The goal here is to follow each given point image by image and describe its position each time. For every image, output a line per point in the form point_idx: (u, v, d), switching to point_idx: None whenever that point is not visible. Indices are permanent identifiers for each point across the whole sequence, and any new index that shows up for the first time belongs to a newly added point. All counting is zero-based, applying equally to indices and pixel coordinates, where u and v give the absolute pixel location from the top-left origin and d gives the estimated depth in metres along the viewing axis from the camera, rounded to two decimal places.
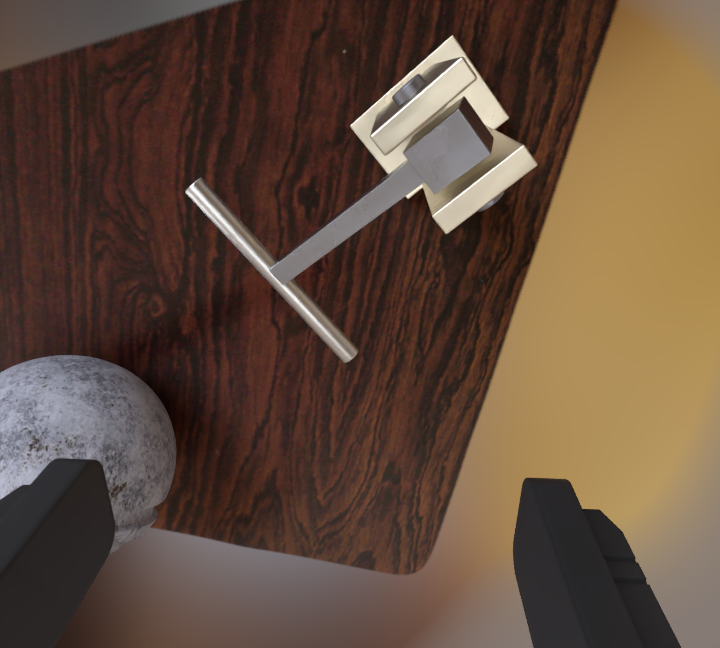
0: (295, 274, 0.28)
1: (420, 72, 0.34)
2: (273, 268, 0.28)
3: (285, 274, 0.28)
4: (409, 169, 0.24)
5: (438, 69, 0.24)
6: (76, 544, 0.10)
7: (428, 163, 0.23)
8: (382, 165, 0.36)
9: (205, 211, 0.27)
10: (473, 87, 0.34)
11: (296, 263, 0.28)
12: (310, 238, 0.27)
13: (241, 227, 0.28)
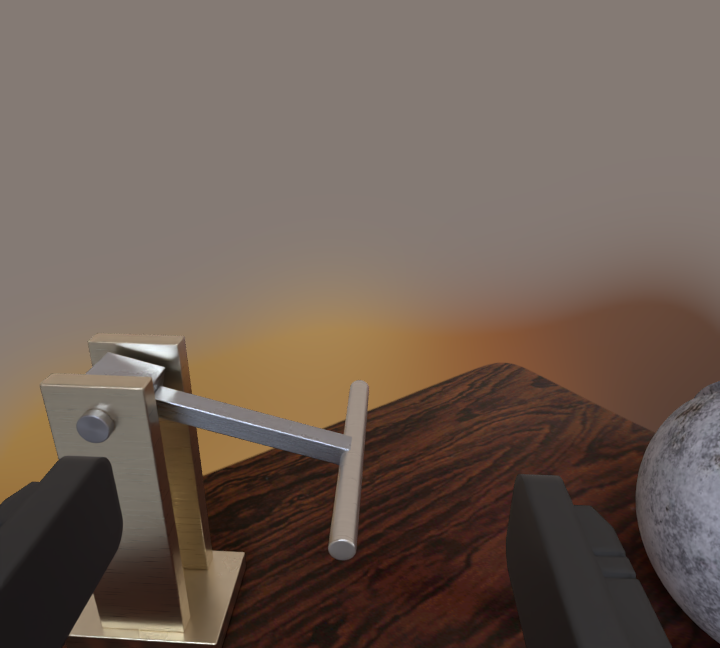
0: (330, 431, 0.27)
1: (117, 630, 0.29)
2: (344, 448, 0.26)
3: (339, 437, 0.26)
4: (162, 396, 0.26)
5: None
6: (85, 541, 0.10)
7: (142, 376, 0.25)
8: (231, 590, 0.31)
9: (352, 516, 0.22)
10: None
11: (320, 434, 0.26)
12: (286, 433, 0.26)
13: (337, 489, 0.24)
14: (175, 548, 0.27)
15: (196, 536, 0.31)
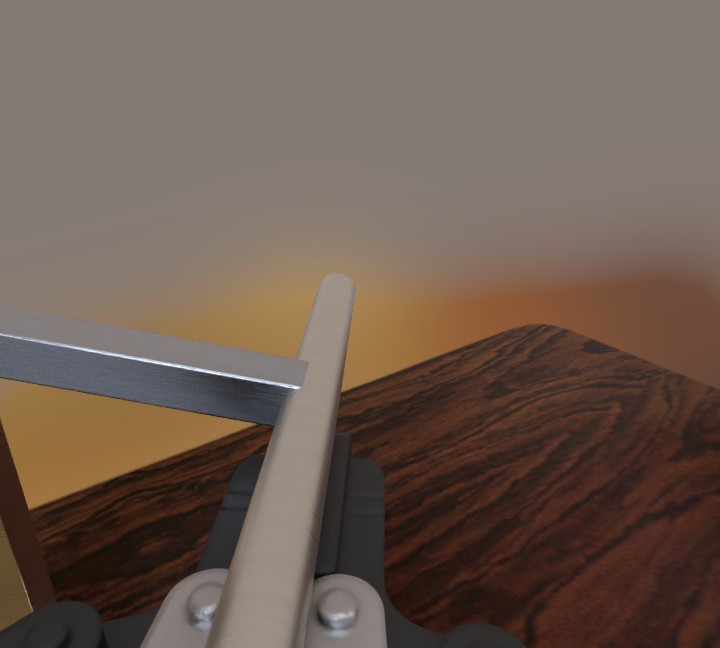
0: (257, 353, 0.11)
1: None
2: (288, 384, 0.10)
3: (276, 364, 0.11)
4: None
5: None
6: None
7: None
8: None
9: (285, 572, 0.07)
10: None
11: (229, 358, 0.11)
12: (138, 359, 0.10)
13: (255, 487, 0.08)
14: None
15: (18, 605, 0.16)
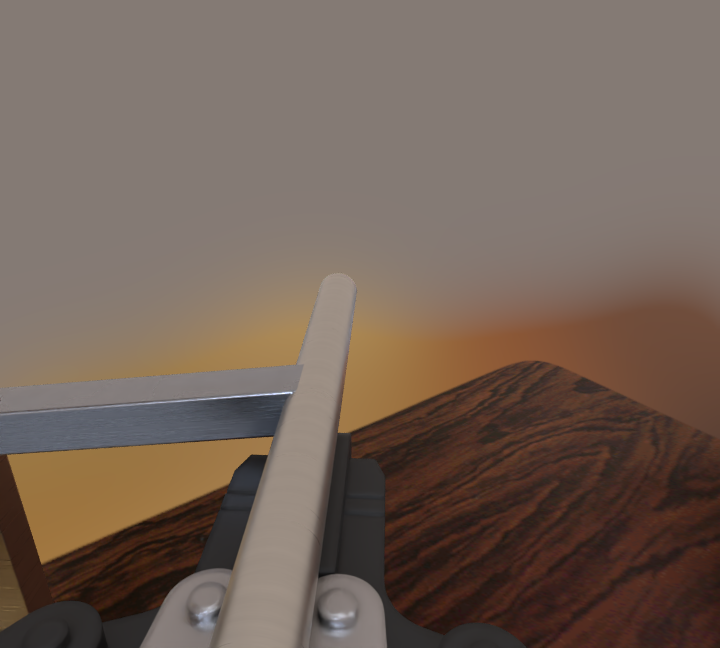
0: (252, 369, 0.11)
1: None
2: (283, 391, 0.10)
3: (271, 374, 0.11)
4: None
5: None
6: None
7: None
8: None
9: (277, 571, 0.07)
10: None
11: (225, 381, 0.11)
12: (138, 403, 0.11)
13: (255, 497, 0.08)
14: None
15: None
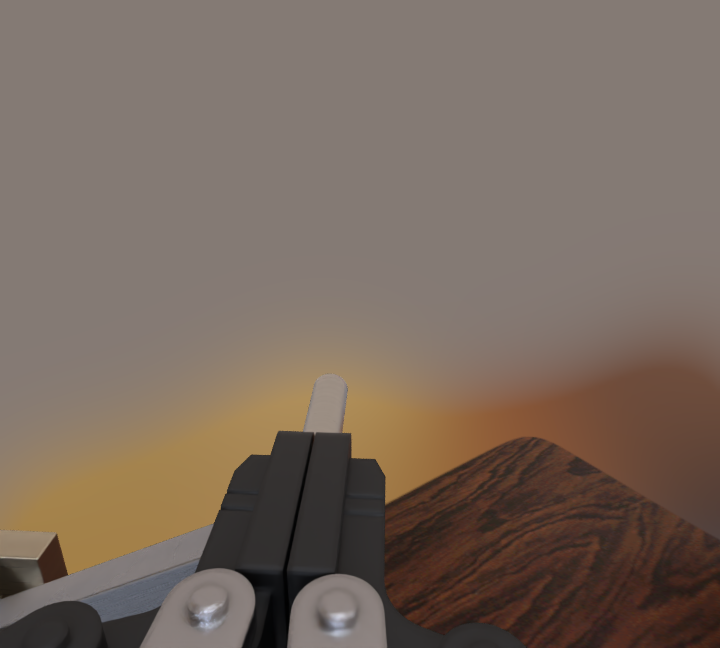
0: None
1: None
2: None
3: None
4: None
5: None
6: None
7: None
8: None
9: None
10: None
11: None
12: (163, 571, 0.12)
13: None
14: None
15: None
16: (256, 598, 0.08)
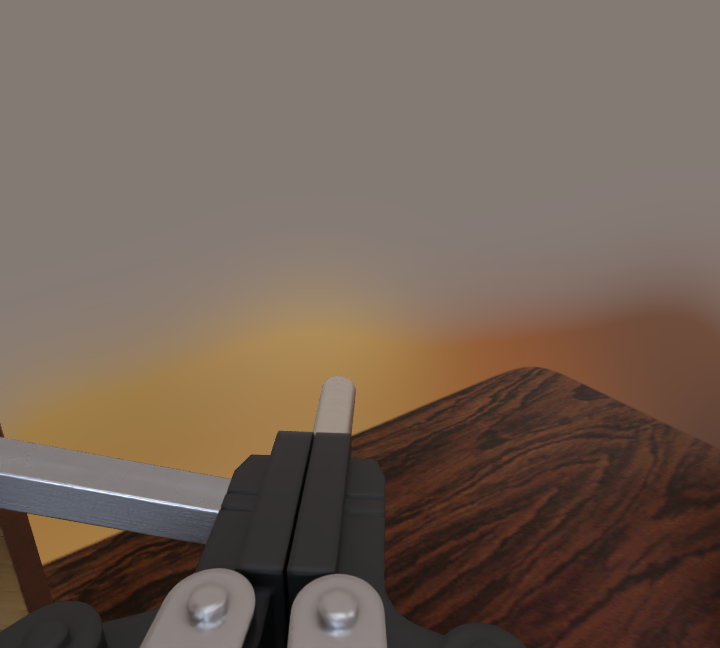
0: None
1: None
2: None
3: None
4: None
5: None
6: None
7: None
8: None
9: None
10: None
11: None
12: (163, 502, 0.12)
13: None
14: None
15: None
16: (256, 598, 0.08)
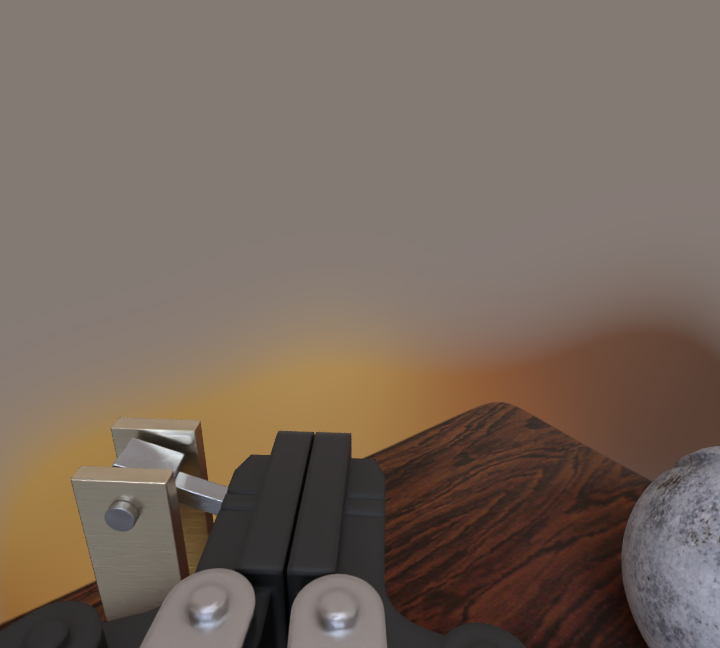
0: None
1: None
2: None
3: None
4: (181, 484, 0.28)
5: (100, 547, 0.27)
6: None
7: (164, 465, 0.27)
8: None
9: None
10: None
11: None
12: None
13: None
14: None
15: None
16: (256, 598, 0.08)
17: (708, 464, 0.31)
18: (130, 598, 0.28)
